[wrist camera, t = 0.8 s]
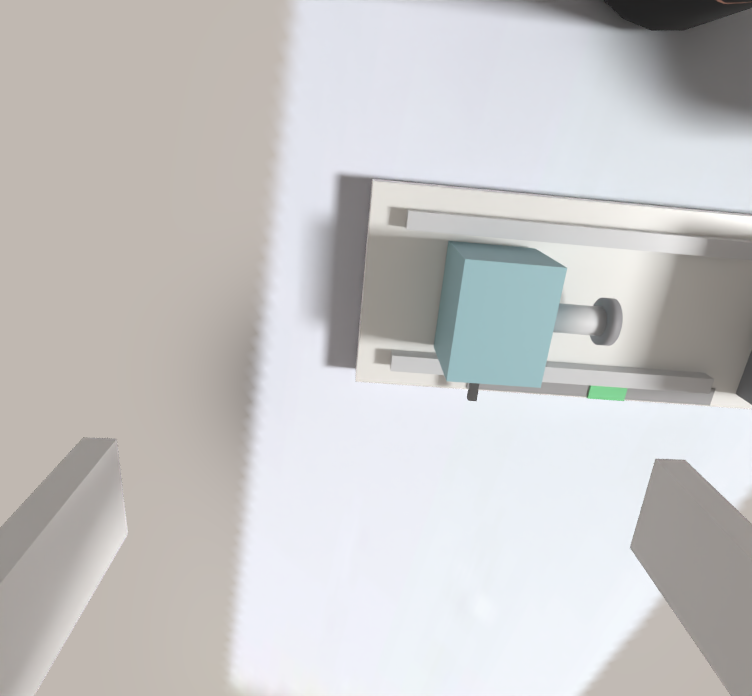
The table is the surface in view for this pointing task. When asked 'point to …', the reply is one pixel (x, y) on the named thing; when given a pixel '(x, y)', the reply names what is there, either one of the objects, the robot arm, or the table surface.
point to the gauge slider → (509, 315)
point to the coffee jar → (675, 12)
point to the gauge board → (570, 290)
